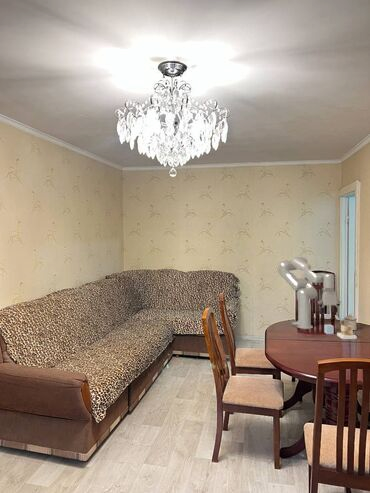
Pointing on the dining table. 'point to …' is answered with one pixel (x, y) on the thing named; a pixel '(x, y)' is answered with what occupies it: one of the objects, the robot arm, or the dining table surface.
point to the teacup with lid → (350, 321)
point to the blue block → (329, 329)
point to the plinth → (347, 336)
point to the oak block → (346, 330)
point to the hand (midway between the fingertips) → (329, 312)
